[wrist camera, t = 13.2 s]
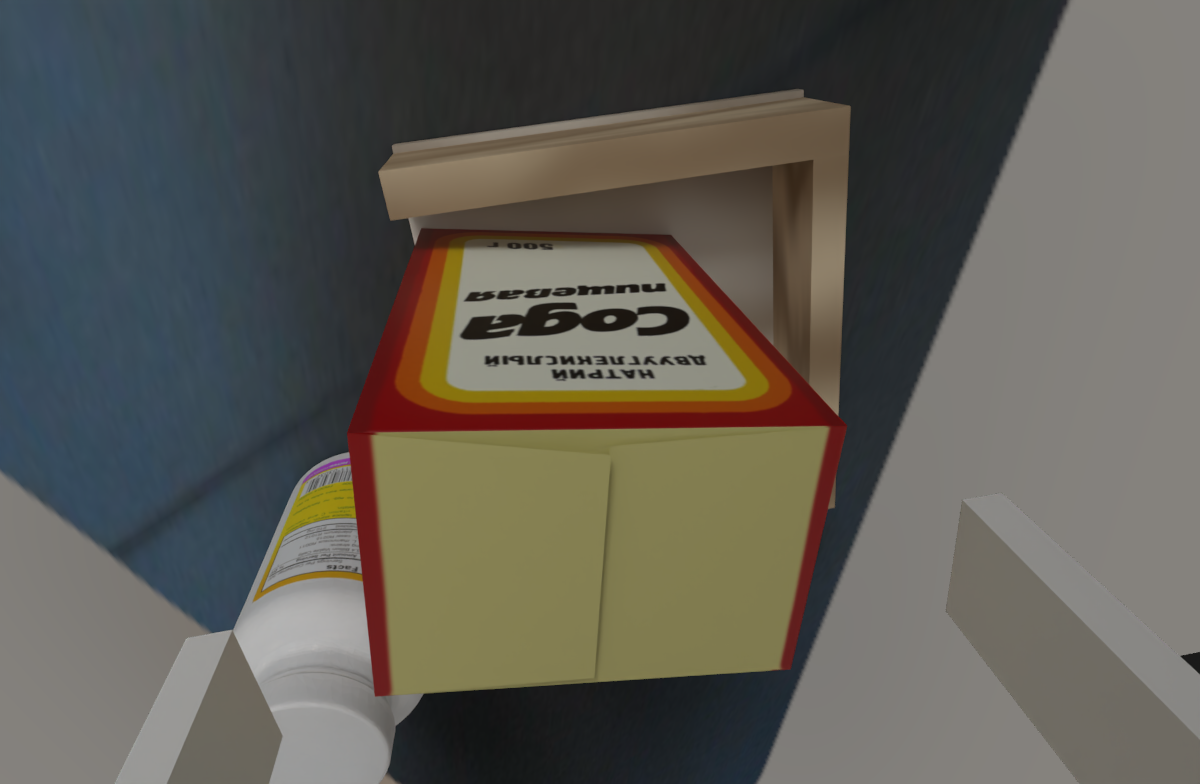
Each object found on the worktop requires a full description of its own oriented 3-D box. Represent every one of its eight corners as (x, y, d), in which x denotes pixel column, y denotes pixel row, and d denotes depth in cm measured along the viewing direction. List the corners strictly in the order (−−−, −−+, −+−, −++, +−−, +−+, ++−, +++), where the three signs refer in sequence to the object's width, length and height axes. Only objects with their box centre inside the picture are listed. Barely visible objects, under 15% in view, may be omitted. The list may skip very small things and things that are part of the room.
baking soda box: (670, 234, 28) (855, 435, 14) (655, 386, 31) (796, 682, 17) (421, 228, 27) (343, 443, 13) (428, 387, 30) (372, 710, 15)
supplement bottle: (395, 588, 35) (348, 860, 23) (263, 526, 32) (138, 796, 21) (475, 489, 33) (467, 732, 21) (342, 416, 30) (253, 645, 19)
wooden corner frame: (393, 144, 26) (376, 163, 22) (797, 88, 27) (850, 97, 23) (477, 507, 33) (476, 571, 29) (794, 452, 34) (834, 507, 30)
